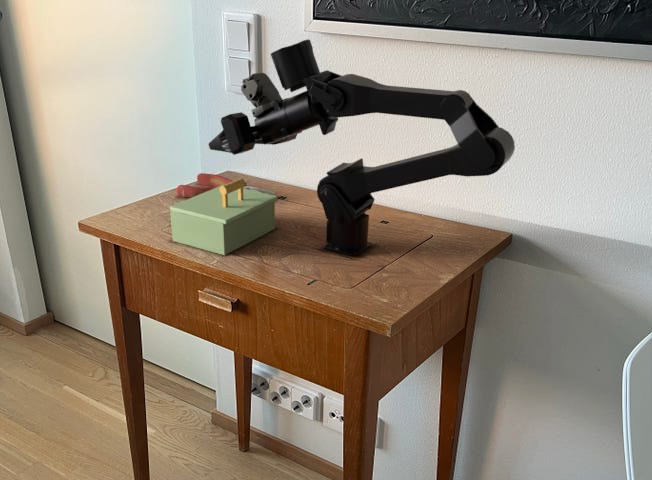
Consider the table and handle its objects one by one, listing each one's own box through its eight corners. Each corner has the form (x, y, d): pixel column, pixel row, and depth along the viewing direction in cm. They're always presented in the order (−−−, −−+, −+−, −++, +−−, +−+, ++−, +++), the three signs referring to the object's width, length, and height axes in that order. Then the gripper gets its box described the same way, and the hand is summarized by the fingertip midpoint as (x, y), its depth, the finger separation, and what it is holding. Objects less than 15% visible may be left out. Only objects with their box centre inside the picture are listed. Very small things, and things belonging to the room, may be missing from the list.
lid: (277, 199, 134) (277, 175, 132) (226, 224, 123) (224, 198, 121) (223, 188, 140) (222, 164, 138) (169, 210, 129) (167, 185, 127)
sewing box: (275, 228, 137) (274, 199, 135) (224, 255, 126) (223, 223, 124) (224, 216, 143) (223, 188, 140) (172, 241, 132) (170, 210, 129)
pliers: (262, 209, 147) (262, 196, 145) (174, 197, 153) (173, 185, 152) (284, 193, 156) (284, 181, 154) (200, 182, 162) (199, 171, 161)
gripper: (307, 64, 128) (239, 94, 137) (248, 69, 113) (176, 102, 123) (326, 127, 131) (258, 153, 140) (271, 140, 116) (199, 167, 125)
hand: (224, 143), depth 132 cm, fingers open, 9 cm apart
